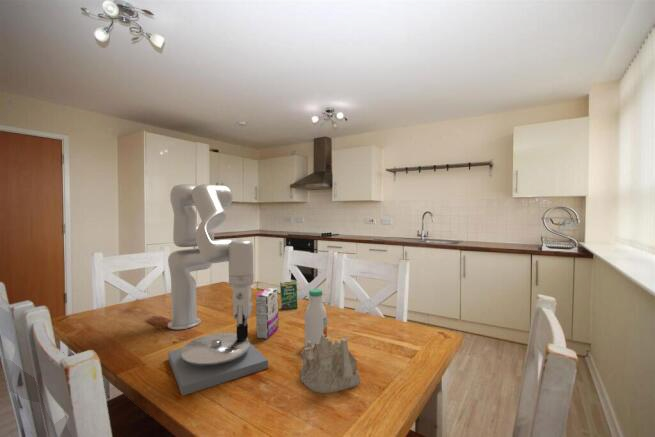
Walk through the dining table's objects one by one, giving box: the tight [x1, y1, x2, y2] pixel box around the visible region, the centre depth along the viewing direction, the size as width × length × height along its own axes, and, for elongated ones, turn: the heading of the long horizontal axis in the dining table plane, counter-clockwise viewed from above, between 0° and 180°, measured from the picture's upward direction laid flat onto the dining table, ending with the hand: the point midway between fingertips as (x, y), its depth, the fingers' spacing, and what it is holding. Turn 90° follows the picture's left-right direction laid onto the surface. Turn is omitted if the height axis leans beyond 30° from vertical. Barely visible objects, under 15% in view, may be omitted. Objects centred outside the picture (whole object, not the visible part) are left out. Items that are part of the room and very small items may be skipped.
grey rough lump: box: [300, 334, 361, 394], centre depth 88 cm, size 16×16×15 cm
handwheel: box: [181, 324, 250, 366], centre depth 96 cm, size 20×20×7 cm
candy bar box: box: [255, 287, 279, 340], centre depth 119 cm, size 11×5×16 cm, turn 168°
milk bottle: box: [304, 288, 328, 348], centre depth 107 cm, size 8×8×20 cm
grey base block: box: [167, 341, 269, 397], centre depth 96 cm, size 24×24×4 cm
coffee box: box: [279, 280, 298, 311], centre depth 150 cm, size 8×3×13 cm, turn 103°
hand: (242, 337), depth 96 cm, fingers closed
